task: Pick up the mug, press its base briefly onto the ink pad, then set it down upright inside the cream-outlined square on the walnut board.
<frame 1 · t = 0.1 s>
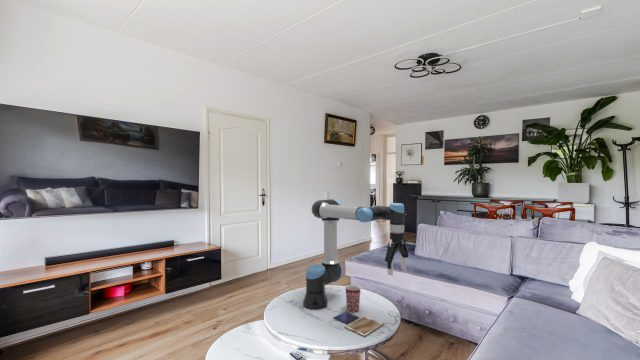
hand: (397, 272, 154), 28 cm above the table, fingers open, 13 cm apart
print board: (364, 326, 151), on the table
mug: (352, 308, 173), on the table
ink pad: (346, 318, 160), on the table
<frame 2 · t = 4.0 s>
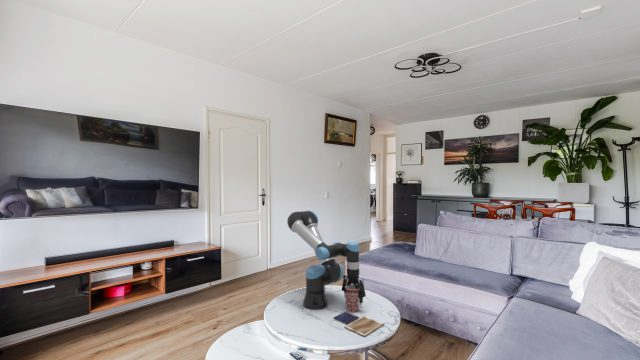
hand: (353, 305, 173), 2 cm above the table, fingers closed on mug, 9 cm apart
mug: (352, 308, 173), on the table, touching gripper
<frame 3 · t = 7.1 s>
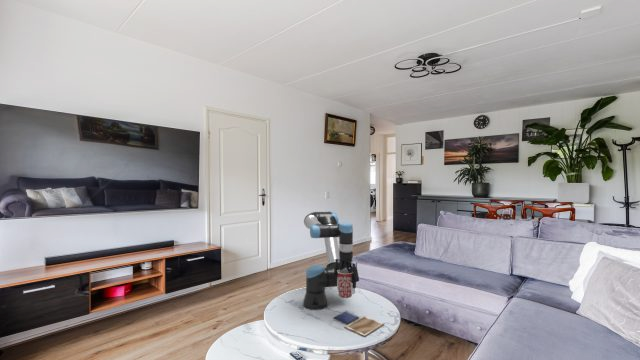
hand: (346, 291, 160), 15 cm above the table, fingers closed on mug, 9 cm apart
mug: (345, 294, 161), point 13 cm above the table, touching gripper
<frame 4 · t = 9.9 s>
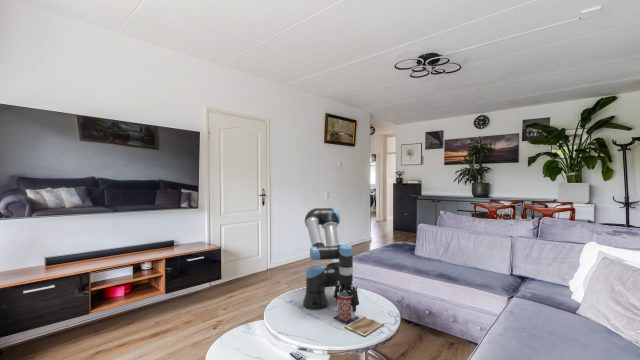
hand: (346, 314, 160), 2 cm above the table, fingers closed on mug, 9 cm apart
mug: (345, 317, 160), point 1 cm above the table, touching gripper, ink pad
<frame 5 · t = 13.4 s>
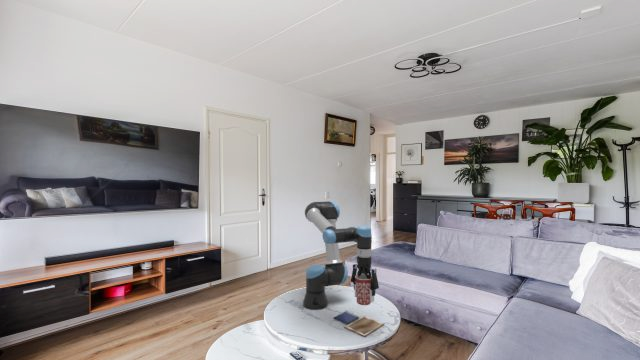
hand: (364, 298, 151), 15 cm above the table, fingers closed on mug, 9 cm apart
mug: (363, 301, 152), point 13 cm above the table, touching gripper
when the fingers open (4 cm above the table, at t = 16.2 s): mug drops 2 cm, resting on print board.
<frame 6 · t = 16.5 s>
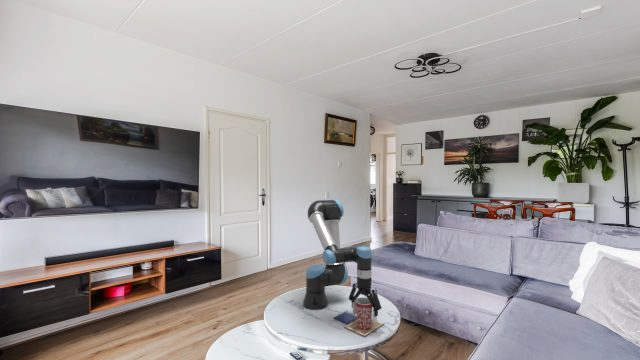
hand: (364, 318, 151), 5 cm above the table, fingers open, 12 cm apart
mug: (364, 325, 152), resting on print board
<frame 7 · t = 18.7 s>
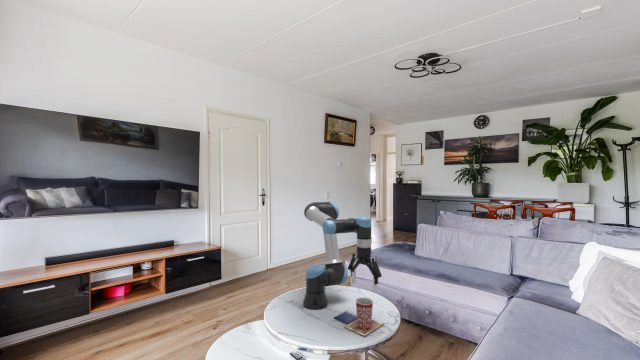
hand: (364, 286, 152), 21 cm above the table, fingers open, 13 cm apart
nothing on the table moved.
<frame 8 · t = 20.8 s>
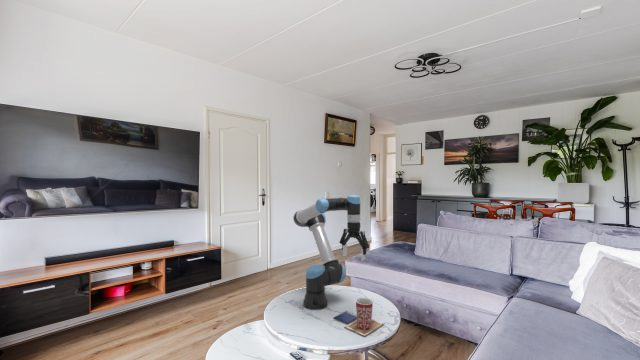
hand: (353, 258, 168), 32 cm above the table, fingers open, 13 cm apart
nothing on the table moved.
at the end: mug 0.5 cm off-centre on the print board, point 0.4 cm above the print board's base; mug tilted 1°; the gripper is holding nothing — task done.
